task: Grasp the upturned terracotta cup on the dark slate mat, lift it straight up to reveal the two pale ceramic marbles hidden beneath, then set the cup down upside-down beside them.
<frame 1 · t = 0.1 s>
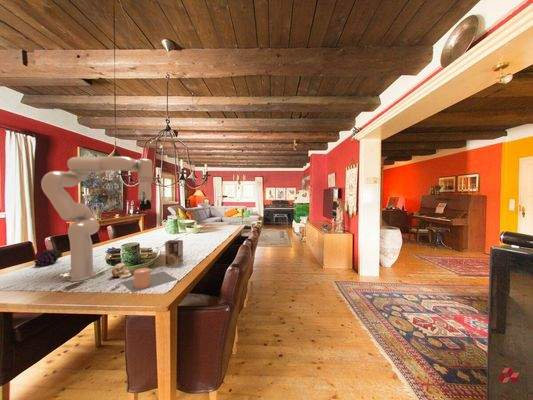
hand: (145, 209, 132), 37 cm above the table, tool pointing down, fingers open, 9 cm apart
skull: (121, 277, 127), on the table
fruit: (48, 264, 146), on the table
marble b: (145, 285, 114), point 1 cm above the table, touching mat
marble a: (139, 286, 112), point 1 cm above the table, touching mat
coffee box: (174, 265, 146), on the table
cup: (142, 285, 113), point 1 cm above the table, touching mat
mat: (149, 282, 120), on the table
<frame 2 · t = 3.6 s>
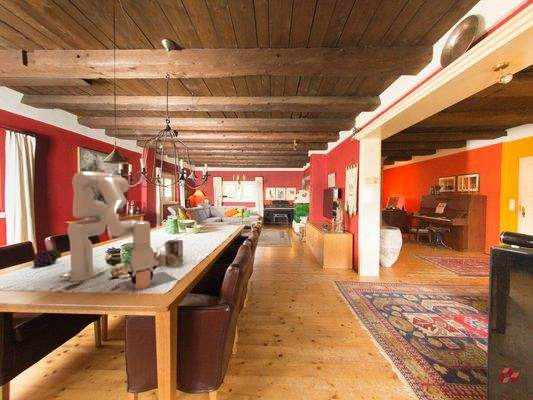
hand: (142, 280, 113), 3 cm above the table, tool pointing down, fingers closed on cup, 7 cm apart
cup: (142, 285, 113), point 1 cm above the table, touching gripper, mat
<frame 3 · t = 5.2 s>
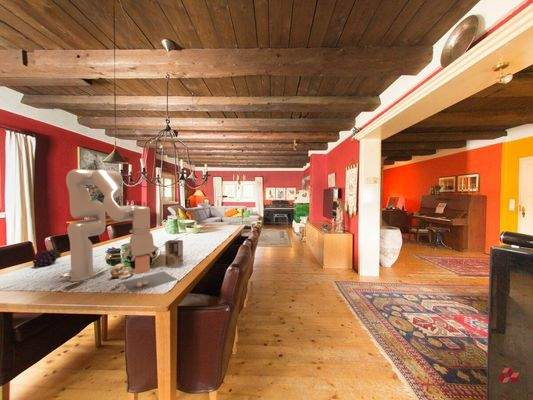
hand: (141, 266, 113), 11 cm above the table, tool pointing down, fingers closed on cup, 7 cm apart
cup: (141, 271, 113), point 8 cm above the table, touching gripper
everything else where it was.
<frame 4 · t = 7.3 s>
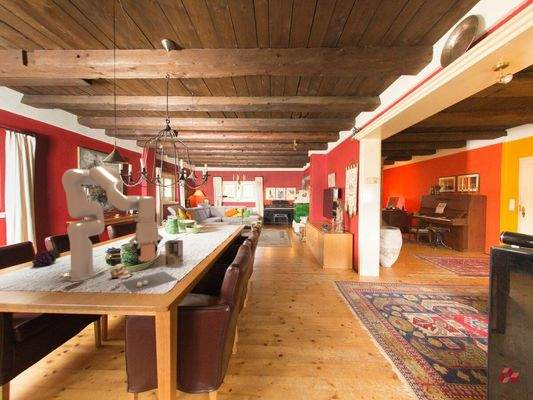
hand: (147, 254, 117), 16 cm above the table, tool pointing down, fingers closed on cup, 7 cm apart
cup: (147, 258, 117), point 13 cm above the table, touching gripper
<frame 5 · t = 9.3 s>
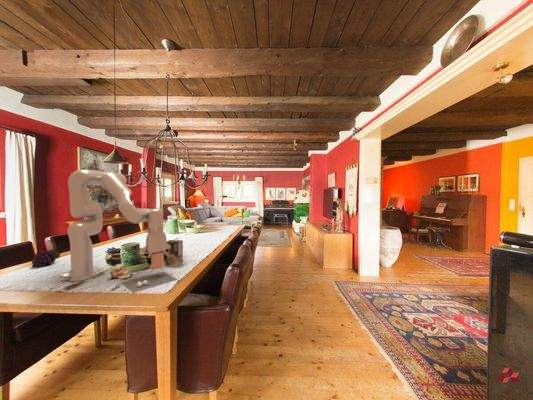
hand: (156, 262, 126), 8 cm above the table, tool pointing down, fingers closed on cup, 7 cm apart
cup: (156, 267, 126), point 6 cm above the table, touching gripper
when the fingers open (5 cm above the table, at t = 11.0 s): cup drops 1 cm, resting on mat.
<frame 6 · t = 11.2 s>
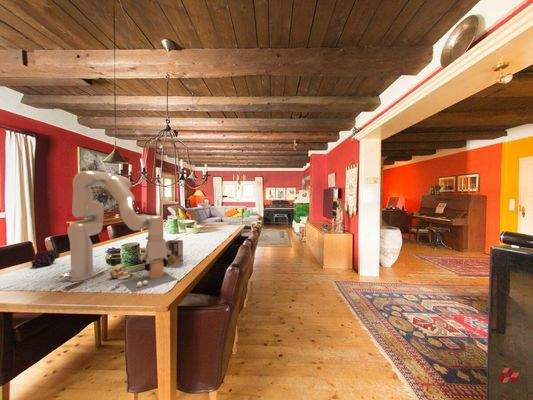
hand: (156, 268, 126), 5 cm above the table, tool pointing down, fingers open, 9 cm apart
cup: (156, 276, 126), point 1 cm above the table, touching mat
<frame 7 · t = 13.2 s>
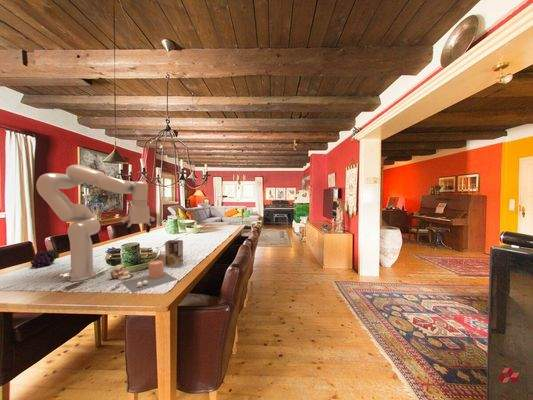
hand: (138, 233, 129), 24 cm above the table, tool pointing down, fingers open, 9 cm apart
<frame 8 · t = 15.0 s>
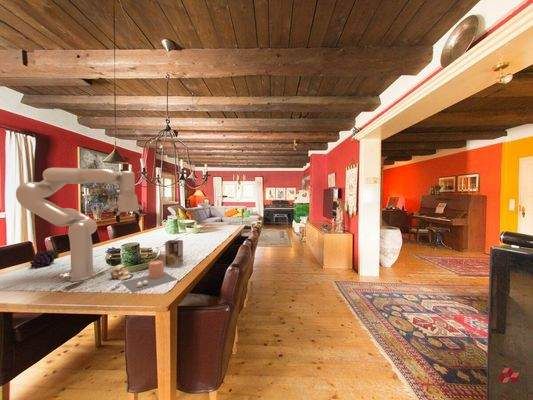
hand: (127, 221, 133), 30 cm above the table, tool pointing down, fingers open, 9 cm apart
at the end: cup inside the target area (0.1 cm from its centre), point 0.6 cm above the table; cup tilted 0°; the gripper is holding nothing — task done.
